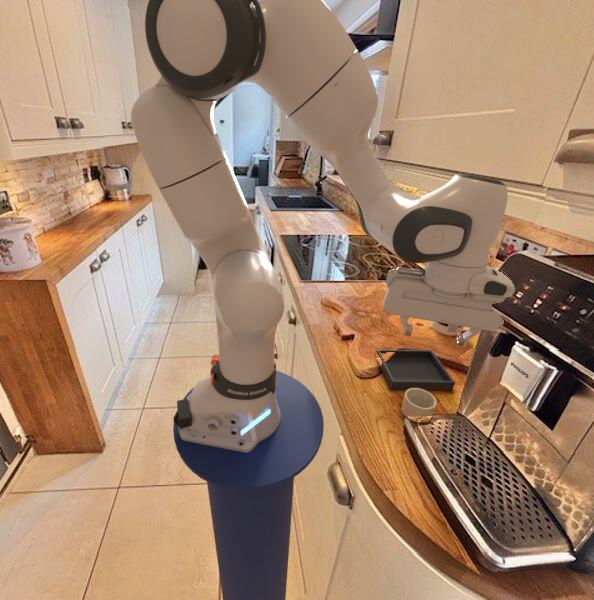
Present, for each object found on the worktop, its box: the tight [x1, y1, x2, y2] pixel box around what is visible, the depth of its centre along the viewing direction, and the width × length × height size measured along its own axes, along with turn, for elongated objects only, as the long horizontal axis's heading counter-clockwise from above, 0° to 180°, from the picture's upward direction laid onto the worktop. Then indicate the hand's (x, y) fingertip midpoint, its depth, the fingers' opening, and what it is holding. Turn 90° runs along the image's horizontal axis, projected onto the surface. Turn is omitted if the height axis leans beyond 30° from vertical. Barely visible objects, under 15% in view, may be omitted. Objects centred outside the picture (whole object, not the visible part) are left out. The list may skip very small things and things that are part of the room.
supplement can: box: [430, 321, 464, 337], centre depth 94 cm, size 8×8×15 cm
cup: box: [400, 388, 438, 418], centre depth 69 cm, size 6×6×4 cm
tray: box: [375, 349, 456, 392], centre depth 80 cm, size 14×12×3 cm
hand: (432, 339), depth 63 cm, fingers open, 8 cm apart
